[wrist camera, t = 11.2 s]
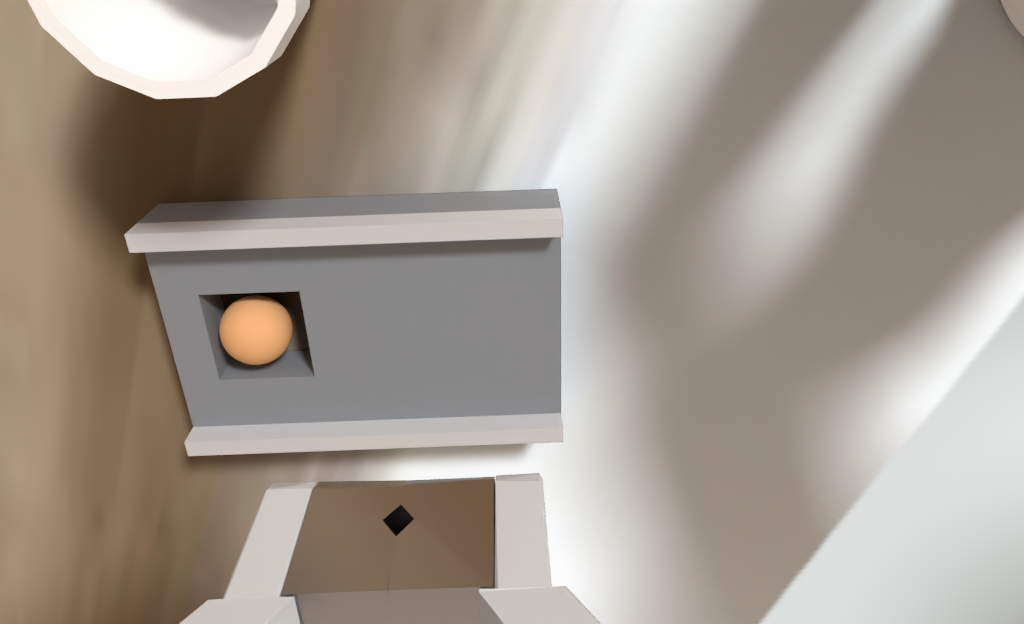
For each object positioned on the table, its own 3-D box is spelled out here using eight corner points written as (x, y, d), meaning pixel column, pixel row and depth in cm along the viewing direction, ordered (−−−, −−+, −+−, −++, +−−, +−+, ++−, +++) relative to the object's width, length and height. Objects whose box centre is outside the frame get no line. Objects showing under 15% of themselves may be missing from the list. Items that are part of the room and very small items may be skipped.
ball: (277, 277, 46) (295, 303, 42) (287, 336, 47) (305, 365, 44) (207, 293, 44) (220, 321, 41) (220, 354, 46) (234, 385, 43)
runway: (556, 188, 43) (562, 218, 39) (557, 398, 49) (563, 442, 45) (158, 203, 43) (124, 234, 39) (213, 411, 49) (188, 456, 45)
